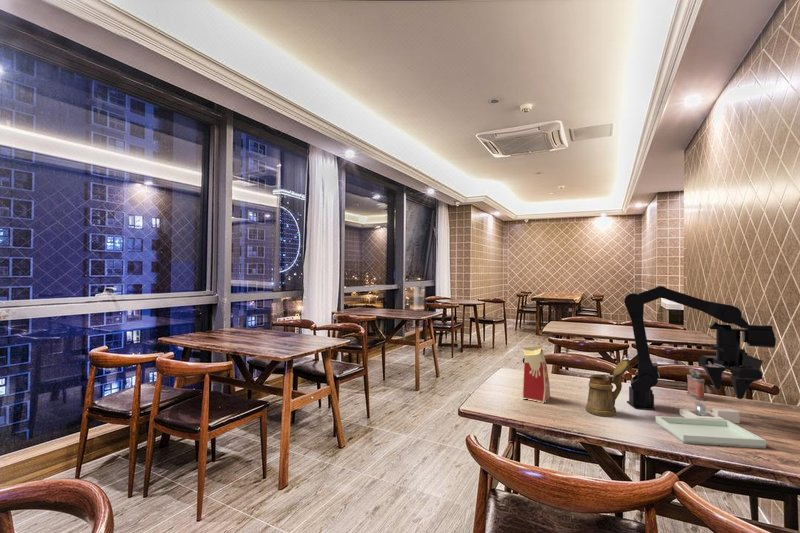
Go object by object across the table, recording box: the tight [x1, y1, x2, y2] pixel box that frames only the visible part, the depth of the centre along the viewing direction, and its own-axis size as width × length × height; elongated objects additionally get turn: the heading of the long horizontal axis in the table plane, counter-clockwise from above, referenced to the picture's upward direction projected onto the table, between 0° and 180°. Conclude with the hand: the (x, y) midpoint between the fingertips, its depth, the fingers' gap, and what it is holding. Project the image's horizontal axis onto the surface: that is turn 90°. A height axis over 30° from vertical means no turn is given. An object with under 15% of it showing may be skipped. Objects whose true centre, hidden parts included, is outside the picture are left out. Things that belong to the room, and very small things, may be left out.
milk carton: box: [521, 344, 551, 404], centre depth 136 cm, size 9×9×20 cm
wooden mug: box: [585, 358, 631, 418], centre depth 122 cm, size 9×14×18 cm, turn 81°
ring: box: [679, 407, 740, 424], centre depth 116 cm, size 14×8×4 cm, turn 82°
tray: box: [655, 415, 767, 450], centre depth 105 cm, size 20×14×2 cm
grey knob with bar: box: [694, 401, 707, 416], centre depth 116 cm, size 2×3×5 cm
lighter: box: [686, 368, 706, 402], centre depth 138 cm, size 8×3×10 cm, turn 168°
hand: (728, 393), depth 115 cm, fingers open, 9 cm apart
